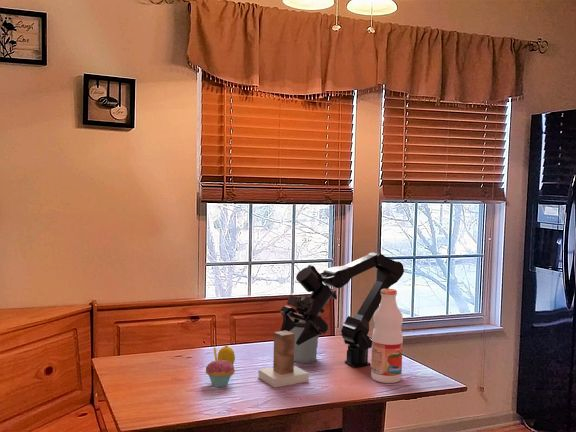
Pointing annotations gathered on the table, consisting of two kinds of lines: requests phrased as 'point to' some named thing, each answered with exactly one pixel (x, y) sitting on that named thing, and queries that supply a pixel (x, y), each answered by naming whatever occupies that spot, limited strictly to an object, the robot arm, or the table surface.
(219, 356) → the lemon
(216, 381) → the cupcake
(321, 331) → the robot arm
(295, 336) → the grey cup
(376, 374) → the fruit juice
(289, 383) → the plate
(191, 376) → the table surface
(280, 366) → the brown wooden block
